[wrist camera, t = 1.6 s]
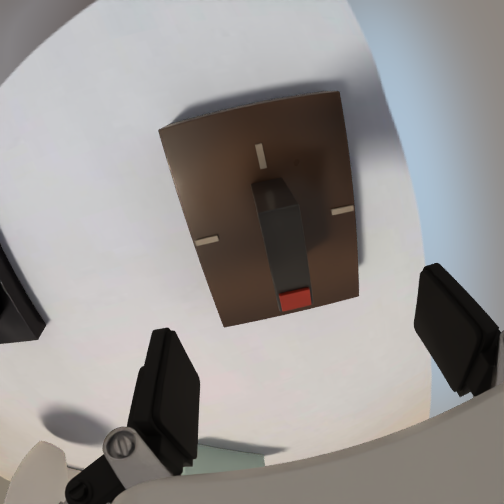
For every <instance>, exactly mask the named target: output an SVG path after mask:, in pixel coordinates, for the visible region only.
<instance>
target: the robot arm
mask: <svg viewBox="0 0 504 504" xmlns="http://www.w3.org/2000/svg"><path fill="white" fill-rule="evenodd" d="M414 328H415V331H416V333H417V334H418V336H419V337H420V339H421V340H422V342H423V343H424V345H425V347H426V348H427V350H428V351H429V353H430V354H431V356H432V358H433V359H434V361H435V362H436V364H437V366H438V367H439V369H440V370H441V372H442V374H443V375H444V377H445V379H446V380H447V382H448V384H449V385H450V387H451V389H452V390H453V391H454V392H456V391H457V393H458V395H459V396H460V397H461V396H464V395H465V394H467V393H469V392H471V393H472V394H473V398H472V399H470V400H469V401H467V402H464V403H462V404H461V405H458V406H456V407H454V408H452V409H450V410H448V411H446V412H443V413H442V414H439V415H437V416H435V417H433V418H430V419H428V420H425V421H423V422H421V423H418V424H416V425H413V426H411V427H408V428H406V429H403V430H400V431H398V432H395V433H392V434H390V435H387V436H384V437H381V438H378V439H375V440H372V441H369V442H366V443H363V444H360V445H356V446H353V447H350V448H346V449H342V450H339V451H335V452H331V453H327V454H323V455H319V456H315V457H311V458H306V459H302V460H297V461H292V462H287V463H282V464H276V465H270V466H264V467H257V468H250V469H242V470H234V471H226V472H216V473H204V474H193V475H182V473H183V467H193V459H196V458H197V450H198V420H199V397H200V380H199V376H198V374H197V372H196V371H195V369H194V367H193V365H192V363H191V361H190V359H189V357H188V355H187V354H186V352H185V350H184V348H183V346H182V344H181V342H180V340H179V338H178V336H177V334H176V332H175V331H171V330H170V329H169V328H162V329H157V330H153V332H152V335H151V339H150V343H149V347H148V351H147V356H146V360H145V364H144V366H142V367H141V368H140V370H139V373H138V377H137V382H136V386H135V390H134V395H133V400H132V404H131V409H130V414H129V418H128V423H127V427H119V428H116V429H114V430H112V431H111V432H110V433H109V434H108V435H107V436H106V438H105V439H104V442H103V453H104V454H103V455H102V456H101V457H100V458H98V459H97V460H96V461H94V462H93V463H92V464H90V465H89V466H88V467H87V468H85V469H84V470H83V471H81V472H80V473H79V474H77V475H76V476H75V477H73V478H72V479H71V480H70V481H69V482H68V484H67V486H66V488H65V498H66V500H65V502H62V501H60V503H59V504H504V331H502V333H501V332H500V330H499V327H498V326H497V325H496V324H495V322H494V321H493V320H492V319H491V318H490V317H489V315H488V314H487V313H486V312H485V311H484V310H483V309H482V308H481V306H480V305H479V304H478V303H477V302H476V301H475V300H474V299H473V298H472V297H471V296H470V295H469V294H468V293H467V291H466V290H465V289H464V288H463V287H462V286H461V285H460V284H459V283H458V282H457V281H456V280H455V279H454V278H453V277H452V276H451V275H450V274H449V273H448V272H447V271H446V270H445V269H444V268H443V267H442V266H441V265H440V264H439V263H434V264H431V265H428V266H425V267H424V268H423V271H422V272H421V273H420V279H419V288H418V297H417V304H416V312H415V319H414Z"/></svg>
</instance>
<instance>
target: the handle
mask: <svg viewBox="0 0 504 504" xmlns="http://www.w3.org/2000/svg"><path fill="white" fill-rule="evenodd" d="M251 189H252V193H253V198H254V202H255V206H256V211H257V215H258V219H259V224H260V228H261V232H262V237H263V241H264V246H265V250H266V254H267V259H268V263H269V268H270V272H271V277H272V281H273V285H274V290H275V294H276V298H277V303H278V307H279V311H288V310H292V309H296V308H300V307H305V306H309V305H312V304H313V295H312V287H311V280H310V272H309V265H308V258H307V252H306V245H305V238H304V232H303V226H302V219H301V213H300V207H299V204H298V202H297V201H296V199H295V198H294V196H293V194H292V193H291V191H290V189H289V188H288V186H287V185H286V183H285V181H284V180H283V178H282V177H280V178H276V179H271V180H266V181H262V182H257V183H253V184H251Z"/></svg>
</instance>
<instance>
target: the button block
mask: <svg viewBox="0 0 504 504" xmlns="http://www.w3.org/2000/svg"><path fill="white" fill-rule="evenodd" d="M45 327H46V324H45V322H44V321H43V319H42V318H41V316H40V315H39V313H38V312H37V310H36V308H35V307H34V305H33V304H32V302H31V300H30V299H29V297H28V295H27V294H26V292H25V290H24V288H23V287H22V285H21V283H20V281H19V280H18V278H17V276H16V274H15V272H14V270H13V269H12V267H11V265H10V263H9V261H8V259H7V257H6V255H5V253H4V251H3V249H2V247H1V245H0V344H4V343H14V342H23V341H32V340H38V339H39V337H40V335H41V333H42V332H43V330H44V328H45Z"/></svg>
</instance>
